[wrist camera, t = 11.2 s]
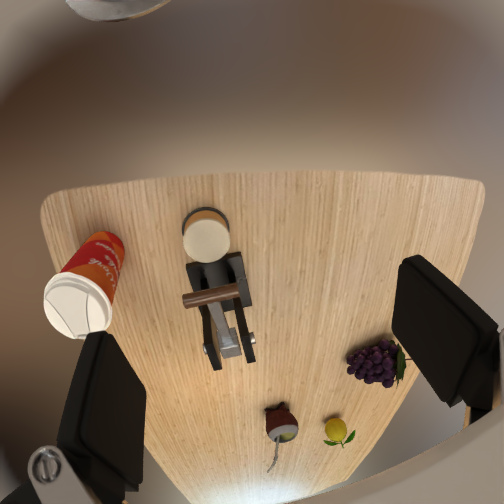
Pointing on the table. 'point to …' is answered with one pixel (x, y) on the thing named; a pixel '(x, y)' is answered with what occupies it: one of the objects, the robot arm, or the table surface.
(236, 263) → the lever base stand
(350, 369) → the fruit
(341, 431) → the lemon
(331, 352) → the table surface
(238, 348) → the lever
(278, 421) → the mate gourd
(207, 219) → the cake
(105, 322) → the coffee cup
